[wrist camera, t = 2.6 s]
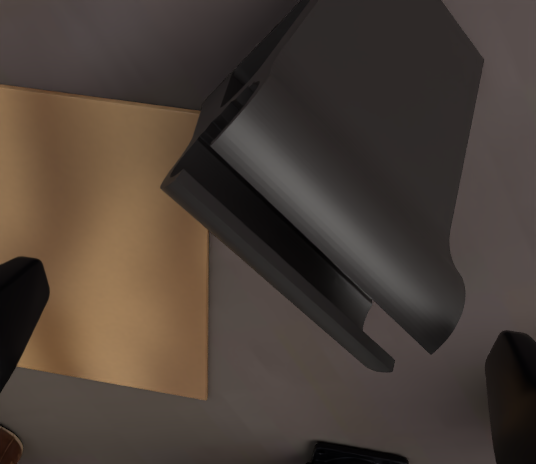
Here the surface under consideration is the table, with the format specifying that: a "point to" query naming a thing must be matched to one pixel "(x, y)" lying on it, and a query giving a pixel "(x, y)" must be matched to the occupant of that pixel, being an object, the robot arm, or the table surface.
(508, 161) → the table surface
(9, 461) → the coffee cup
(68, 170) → the wooden board
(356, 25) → the phone stand
